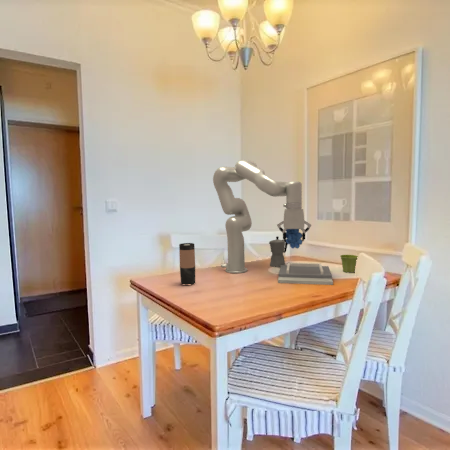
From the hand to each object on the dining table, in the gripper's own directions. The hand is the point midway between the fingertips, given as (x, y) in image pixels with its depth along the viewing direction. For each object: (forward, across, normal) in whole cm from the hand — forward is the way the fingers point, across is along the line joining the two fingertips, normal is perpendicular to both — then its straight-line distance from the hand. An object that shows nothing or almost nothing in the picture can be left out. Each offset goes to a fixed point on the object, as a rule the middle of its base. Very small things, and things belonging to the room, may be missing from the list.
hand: (294, 240), depth 172 cm
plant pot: (+20, +29, +22) cm, 41 cm away
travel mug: (+20, -51, -17) cm, 58 cm away
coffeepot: (+20, -11, +32) cm, 40 cm away
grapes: (+4, -1, +1) cm, 5 cm away
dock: (+20, +5, +7) cm, 22 cm away
